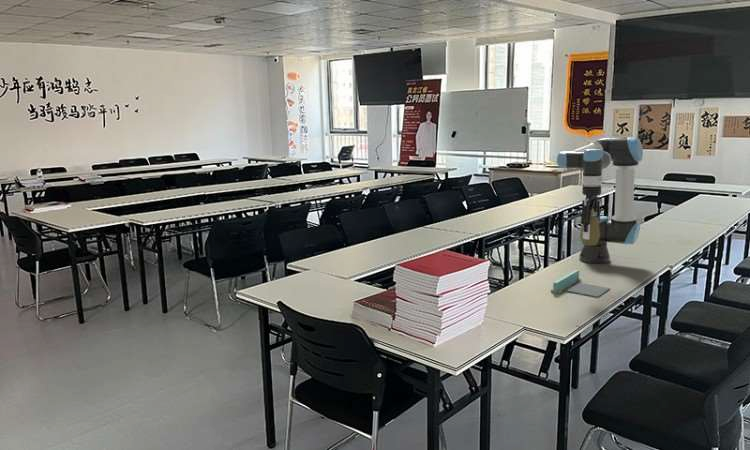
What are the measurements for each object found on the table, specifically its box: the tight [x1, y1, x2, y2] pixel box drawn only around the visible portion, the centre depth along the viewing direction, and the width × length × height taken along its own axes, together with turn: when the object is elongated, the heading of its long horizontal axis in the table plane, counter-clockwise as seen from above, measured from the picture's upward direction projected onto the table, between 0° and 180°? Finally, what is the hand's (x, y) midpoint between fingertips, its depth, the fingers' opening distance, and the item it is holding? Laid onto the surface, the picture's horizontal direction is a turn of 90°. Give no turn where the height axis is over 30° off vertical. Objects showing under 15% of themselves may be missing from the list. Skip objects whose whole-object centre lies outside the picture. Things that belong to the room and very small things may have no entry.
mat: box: [565, 282, 611, 299], centre depth 247 cm, size 14×14×1 cm
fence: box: [550, 269, 582, 295], centre depth 253 cm, size 4×24×5 cm, turn 138°
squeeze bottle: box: [580, 208, 600, 246], centre depth 241 cm, size 8×8×18 cm
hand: (590, 237), depth 242 cm, fingers closed on squeeze bottle, 8 cm apart
